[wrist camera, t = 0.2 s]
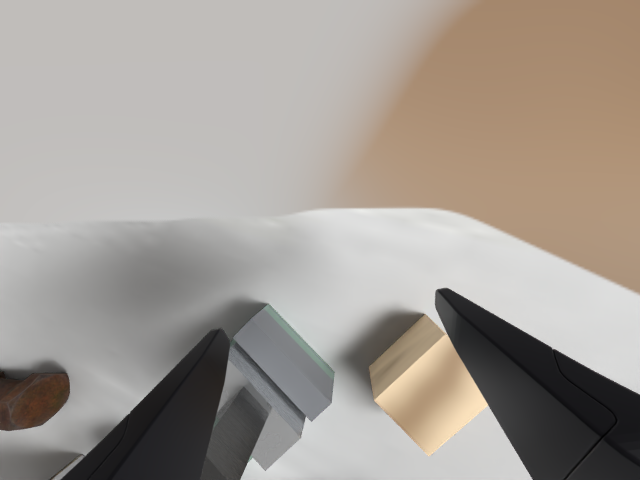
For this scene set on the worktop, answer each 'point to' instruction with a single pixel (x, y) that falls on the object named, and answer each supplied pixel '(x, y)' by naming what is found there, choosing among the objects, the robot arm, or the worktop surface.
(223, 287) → the worktop surface
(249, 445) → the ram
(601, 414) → the robot arm
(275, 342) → the press frame
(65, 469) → the coffee box
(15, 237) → the worktop surface
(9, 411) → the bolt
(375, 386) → the block
